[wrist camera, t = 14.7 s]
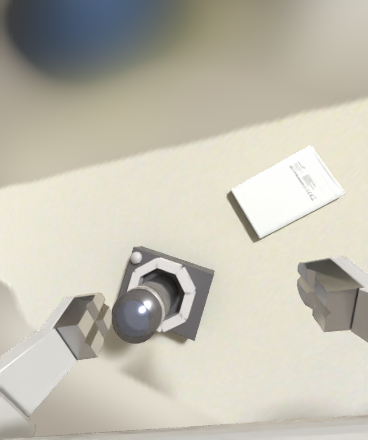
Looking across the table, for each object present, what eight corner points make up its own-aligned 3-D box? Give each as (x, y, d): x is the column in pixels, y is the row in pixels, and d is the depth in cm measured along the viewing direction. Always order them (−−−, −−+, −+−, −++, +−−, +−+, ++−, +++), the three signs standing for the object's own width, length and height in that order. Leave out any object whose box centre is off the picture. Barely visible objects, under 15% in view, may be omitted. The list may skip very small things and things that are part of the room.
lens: (183, 280, 27) (164, 302, 18) (173, 315, 27) (148, 354, 18) (151, 269, 28) (118, 284, 19) (141, 302, 28) (103, 333, 19)
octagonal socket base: (214, 270, 29) (213, 276, 25) (197, 330, 29) (192, 346, 24) (141, 246, 31) (128, 247, 27) (125, 300, 31) (109, 311, 27)
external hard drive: (230, 191, 30) (306, 148, 29) (258, 238, 29) (339, 196, 27) (230, 189, 29) (311, 143, 27) (260, 239, 27) (347, 193, 26)
